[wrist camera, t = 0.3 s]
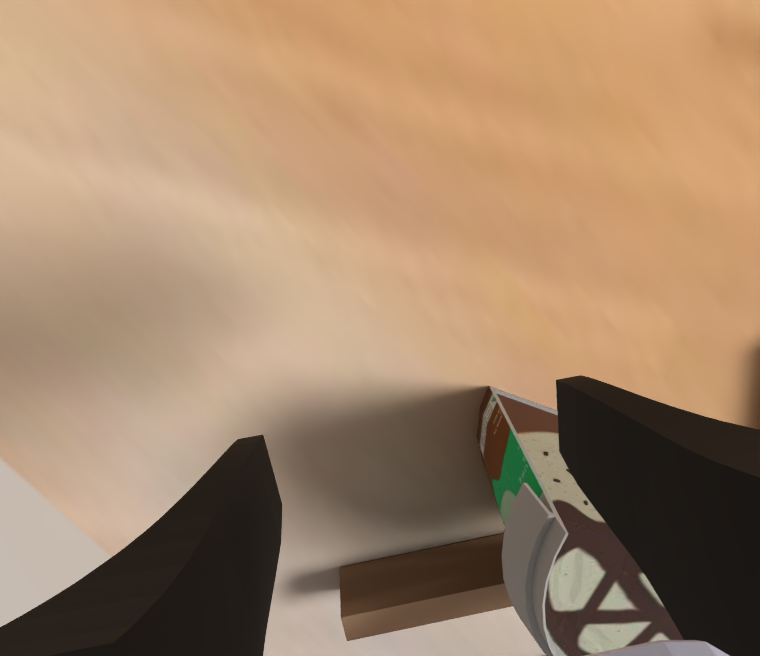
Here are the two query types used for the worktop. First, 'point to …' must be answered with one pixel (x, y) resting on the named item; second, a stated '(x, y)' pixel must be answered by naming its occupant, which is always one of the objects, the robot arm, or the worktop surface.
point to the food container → (560, 541)
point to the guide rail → (422, 587)
